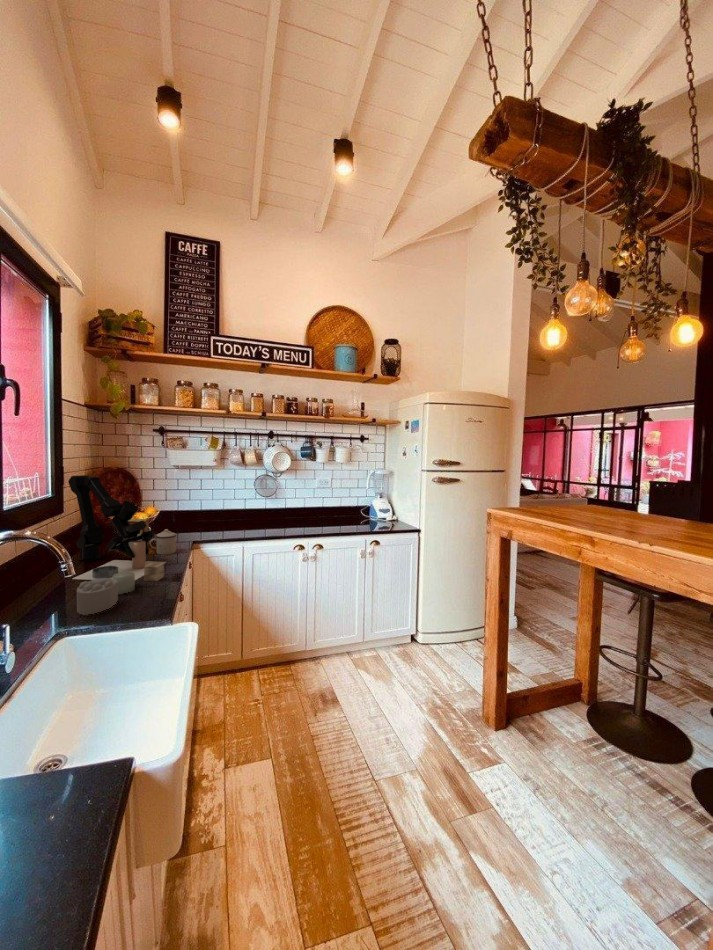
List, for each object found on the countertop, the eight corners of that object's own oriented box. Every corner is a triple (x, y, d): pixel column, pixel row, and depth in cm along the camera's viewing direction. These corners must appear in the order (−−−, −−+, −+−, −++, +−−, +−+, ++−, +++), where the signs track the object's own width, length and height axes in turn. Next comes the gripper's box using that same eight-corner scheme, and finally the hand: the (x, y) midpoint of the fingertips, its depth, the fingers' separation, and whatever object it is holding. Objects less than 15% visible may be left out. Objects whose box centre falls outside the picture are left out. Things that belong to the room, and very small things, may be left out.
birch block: (144, 584, 155) (144, 566, 154) (151, 580, 160) (151, 562, 159) (157, 584, 155) (157, 567, 154) (163, 580, 160) (163, 563, 159)
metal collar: (87, 578, 155) (87, 572, 155) (102, 571, 163) (102, 565, 163) (109, 579, 155) (109, 572, 154) (122, 572, 163) (122, 566, 163)
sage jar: (108, 593, 144) (108, 577, 144) (120, 587, 151) (120, 571, 150) (127, 594, 144) (127, 578, 143) (138, 588, 151) (138, 572, 150)
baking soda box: (148, 549, 205) (148, 518, 204) (144, 552, 198) (144, 520, 197) (128, 549, 203) (128, 518, 202) (123, 552, 197) (123, 520, 196)
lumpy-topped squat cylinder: (121, 599, 140) (121, 575, 139) (105, 614, 127) (104, 588, 126) (88, 600, 138) (88, 575, 137) (68, 616, 125) (68, 589, 124)
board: (71, 582, 154) (71, 578, 154) (114, 563, 180) (114, 559, 180) (133, 585, 153) (133, 581, 153) (166, 565, 179) (166, 561, 179)
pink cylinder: (129, 568, 168) (129, 543, 167) (136, 565, 173) (136, 540, 172) (141, 569, 168) (141, 543, 167) (147, 565, 173) (147, 540, 172)
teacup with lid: (176, 549, 206) (176, 527, 205) (176, 554, 198) (176, 530, 197) (150, 551, 201) (150, 528, 200) (148, 556, 193) (148, 532, 192)
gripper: (111, 518, 162) (129, 549, 158) (151, 512, 179) (169, 539, 175) (98, 535, 166) (116, 565, 162) (139, 527, 183) (156, 554, 179)
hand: (141, 555), depth 169 cm, fingers open, 6 cm apart
